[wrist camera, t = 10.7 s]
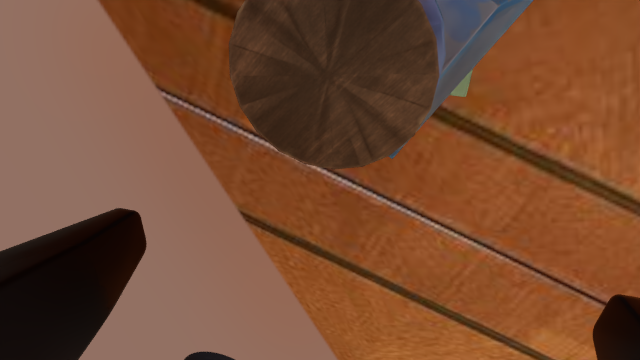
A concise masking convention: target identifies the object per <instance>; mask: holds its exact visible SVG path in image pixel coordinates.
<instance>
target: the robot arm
mask: <svg viewBox="0 0 640 360" xmlns="http://www.w3.org/2000/svg"><path fill="white" fill-rule="evenodd" d="M145 250H146V238H145V233H144V229H143V225H142V221H141V217H140V215H139V213H138V212H136V211H134V210H128V209H122V208H118V209H114V210H111V211H109V212H106V213H103V214H100V215H98V216H95V217H92V218H90V219H87V220H84V221H81V222H79V223H76V224H73V225H71V226H68V227H65V228H62V229H60V230H57V231H54V232H52V233H49V234H46V235H43V236H41V237H38V238H36V239H33V240H30V241H27V242H25V243H22V244H19V245H16V246H14V247H11V248H9V249H6V250H3V251H0V360H78V359H79V358H80V356H81V355H82V354H83V352H84V351H85V349H86V348H87V347H88V345H89V344H90V342H91V341H92V339H93V338H94V337H95V335H96V333H97V332H98V331H99V329H100V328H101V326H102V325H103V323H104V322H105V320H106V319H107V317H108V316H109V314H110V312H111V311H112V309H113V308H114V306H115V304H116V302H117V301H118V299H119V297H120V295H121V294H122V292H123V290H124V288H125V287H126V285H127V283H128V281H129V280H130V278H131V276H132V274H133V272H134V271H135V269H136V267H137V265H138V264H139V262H140V260H141V258H142V256H143V255H144V253H145ZM593 341H594V346H595V351H596V355H597V360H640V298H638V297H632V296H626V295H614V296H613V297H611V298H610V300H609V301H608V303H607V305H606V306H605V308H604V310H603V312H602V313H601V315H600V317H599V318H598V320H597V322H596V323H595V326H594V329H593Z"/></svg>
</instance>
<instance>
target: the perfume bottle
mask: <svg viewBox="0 0 640 360" xmlns="http://www.w3.org/2000/svg"><path fill="white" fill-rule="evenodd" d="M532 1H533V0H245V2H244V3H243V5H242V6H241V8H240V9H239V11H238V13H237V16H236V20H235V23H234V27H233V31H232V34H231V38H230V41H229V63H230V78H231V81H232V84H233V87H234V90H235V93H236V96H237V99H238V102H239V105H240V107H241V109H242V110H243V112H244V113H245V115H246V116H247V118H248V119H249V121H250V122H251V124H252V125H253V127H254V128H255V130H256V131H257V132H258V133H259V134H260V135H261V136H262V137H263V138H265V139H266V140H267V141H268V142H269V143H270V144H271V145H273V146H274V147H275V148H276V149H277V150H278V151H280V152H282V153H284V154H286V155H288V156H290V157H292V158H294V159H296V160H298V161H300V162H302V163H304V164H308V165H313V166H319V167H324V168H329V169H343V168H353V167H363V166H365V165H368V164H370V163H373V162H375V161H378V160H380V159H383V158H385V157H388V156H389V157H390V158H392V159H393V158H394V156H395V155H396V154H397V153H398V152H399V151H400V150H401V149H402V147H403V146H404V145H405V144H406V143H407V142H408V141H409V140H410V139H411V138H412V137H413V136H414V135H415V133H416V132H417V131H418V129H419V128H420V127H421V126H422V125H423V124H424V123H425V122H426V120H427V119H428V118H429V117H430V116H431V115H432V114H433V113H434V111H435V110H436V109H437V108H438V107H439V106H440V105H441V104H442V102H443V101H444V100H445V99H446V98H447V97H448V96H449V95H450V93H451V92H452V91H453V90H454V89H455V88H456V87H457V86H458V84H459V83H460V82H461V81H462V80H463V79H464V78H465V77H466V75H467V74H468V73H469V72H470V71H471V70H472V69H473V68H474V67H475V65H476V64H477V63H478V62H479V61H480V60H481V59H482V58H483V56H484V55H485V54H486V53H487V52H488V51H489V50H490V49H491V47H492V46H493V45H494V44H495V43H496V42H497V41H498V40H499V38H500V37H501V36H502V35H503V34H504V33H505V32H506V31H507V29H508V28H509V27H510V26H511V25H512V24H513V23H514V22H515V20H516V19H517V18H518V17H519V16H520V15H521V14H522V13H523V11H524V10H525V9H526V8H527V7H528V6H529V5H530V4H531V2H532Z"/></svg>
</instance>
